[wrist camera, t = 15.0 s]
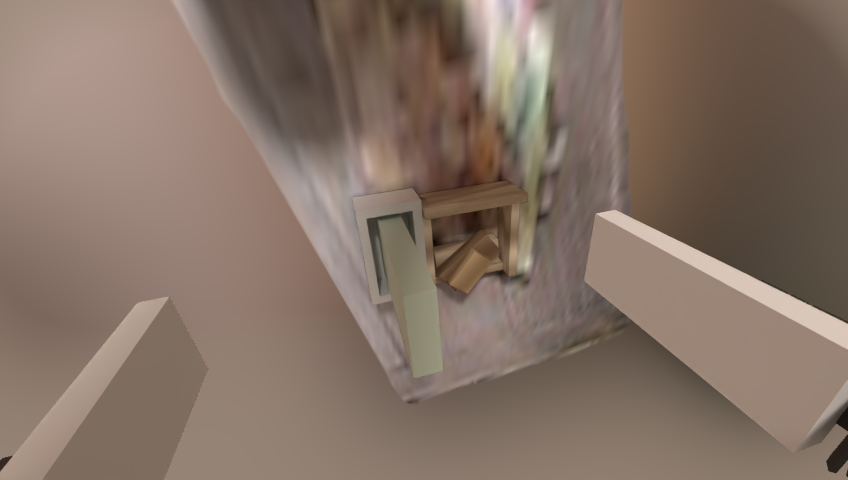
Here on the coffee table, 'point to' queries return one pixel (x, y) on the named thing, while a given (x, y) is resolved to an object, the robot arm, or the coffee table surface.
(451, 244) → the offcut birch
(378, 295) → the bin
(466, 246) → the offcut walnut
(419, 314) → the grey-green flat block
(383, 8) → the coffee table surface
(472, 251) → the offcut oak
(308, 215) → the coffee table surface
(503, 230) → the rack
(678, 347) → the robot arm
